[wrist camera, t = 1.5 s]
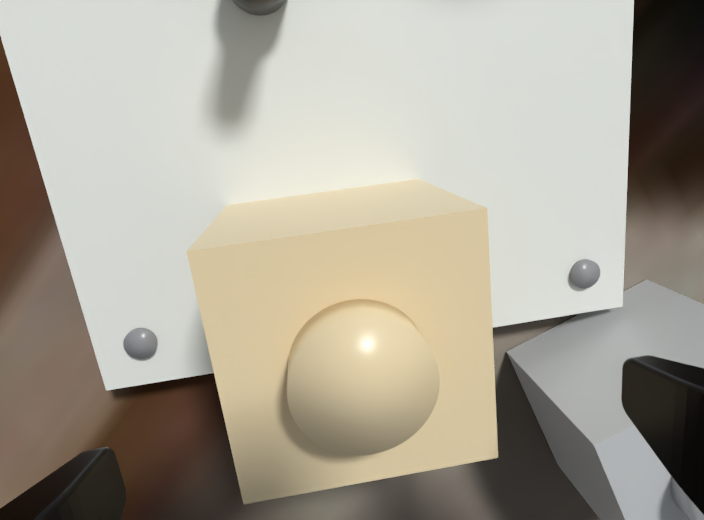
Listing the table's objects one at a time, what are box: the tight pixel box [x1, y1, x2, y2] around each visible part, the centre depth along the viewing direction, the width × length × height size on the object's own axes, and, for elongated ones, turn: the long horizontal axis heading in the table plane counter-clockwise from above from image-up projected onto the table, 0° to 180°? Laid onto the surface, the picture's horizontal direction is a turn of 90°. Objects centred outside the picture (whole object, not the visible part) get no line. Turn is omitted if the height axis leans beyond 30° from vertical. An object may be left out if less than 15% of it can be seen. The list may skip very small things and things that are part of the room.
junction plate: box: [0, 0, 634, 391], centre depth 13 cm, size 15×18×5 cm
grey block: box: [507, 280, 704, 520], centre depth 16 cm, size 6×6×7 cm
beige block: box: [187, 179, 498, 504], centre depth 13 cm, size 6×6×7 cm
